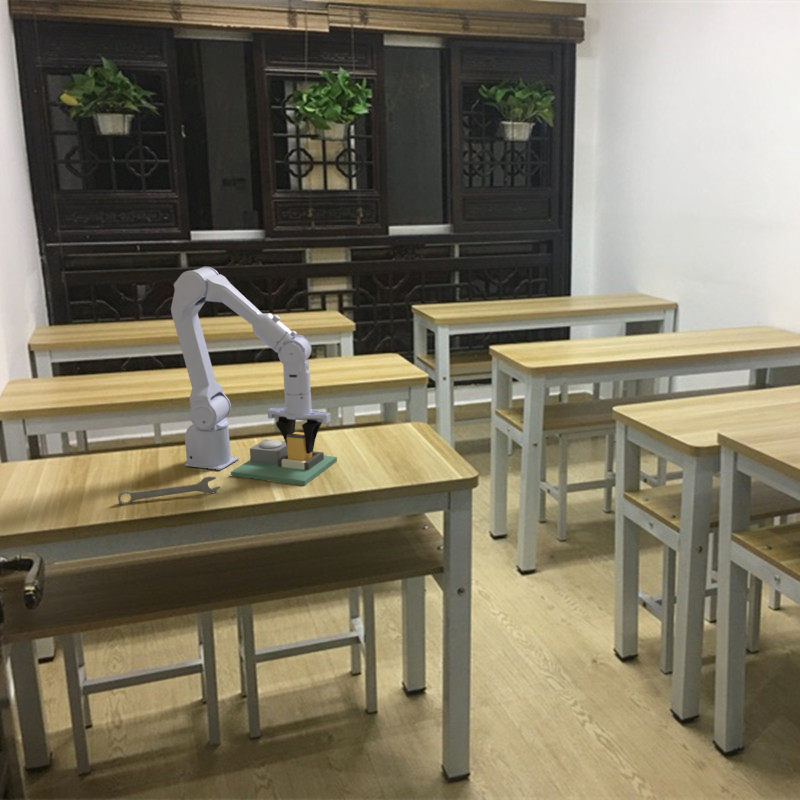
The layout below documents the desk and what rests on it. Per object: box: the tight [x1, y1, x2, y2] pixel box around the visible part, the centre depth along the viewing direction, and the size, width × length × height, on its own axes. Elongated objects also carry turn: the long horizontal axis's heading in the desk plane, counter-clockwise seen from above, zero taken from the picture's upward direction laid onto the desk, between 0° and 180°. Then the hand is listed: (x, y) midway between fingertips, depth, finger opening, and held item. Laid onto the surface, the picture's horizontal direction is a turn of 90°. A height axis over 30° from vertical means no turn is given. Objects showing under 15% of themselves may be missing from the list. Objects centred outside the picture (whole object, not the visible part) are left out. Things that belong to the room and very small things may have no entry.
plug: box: [287, 431, 312, 461], centre depth 176 cm, size 4×4×7 cm
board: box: [230, 439, 338, 486], centre depth 177 cm, size 18×16×4 cm
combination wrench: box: [117, 476, 221, 505], centre depth 161 cm, size 4×1×20 cm
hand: (300, 451), depth 177 cm, fingers closed on plug, 4 cm apart
